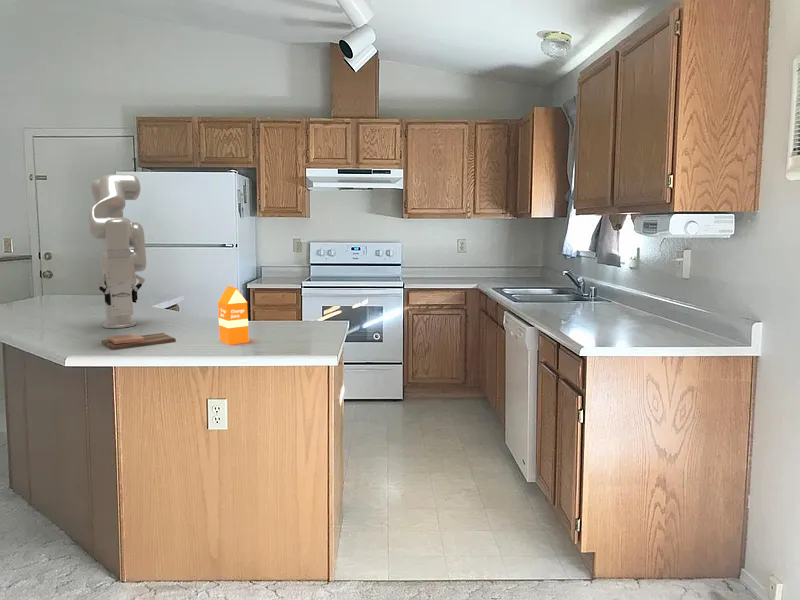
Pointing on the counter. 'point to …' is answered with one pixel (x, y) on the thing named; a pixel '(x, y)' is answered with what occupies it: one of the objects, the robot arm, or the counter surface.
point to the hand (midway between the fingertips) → (121, 303)
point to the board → (149, 340)
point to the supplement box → (121, 299)
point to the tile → (126, 338)
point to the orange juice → (233, 317)
